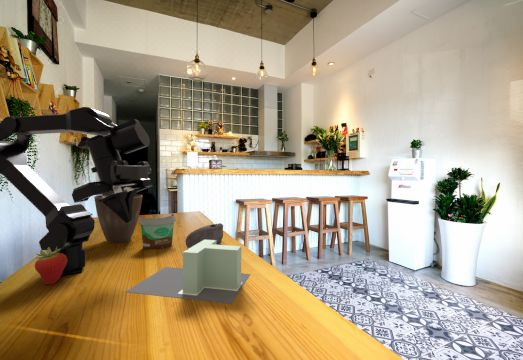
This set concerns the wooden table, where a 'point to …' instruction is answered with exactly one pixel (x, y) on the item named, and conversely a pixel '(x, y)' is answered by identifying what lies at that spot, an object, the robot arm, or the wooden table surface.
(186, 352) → the wooden table surface
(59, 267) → the fruit
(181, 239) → the wooden table surface
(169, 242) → the food container
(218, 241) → the perforated stone tool
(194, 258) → the t block
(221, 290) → the mat
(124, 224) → the plant pot
